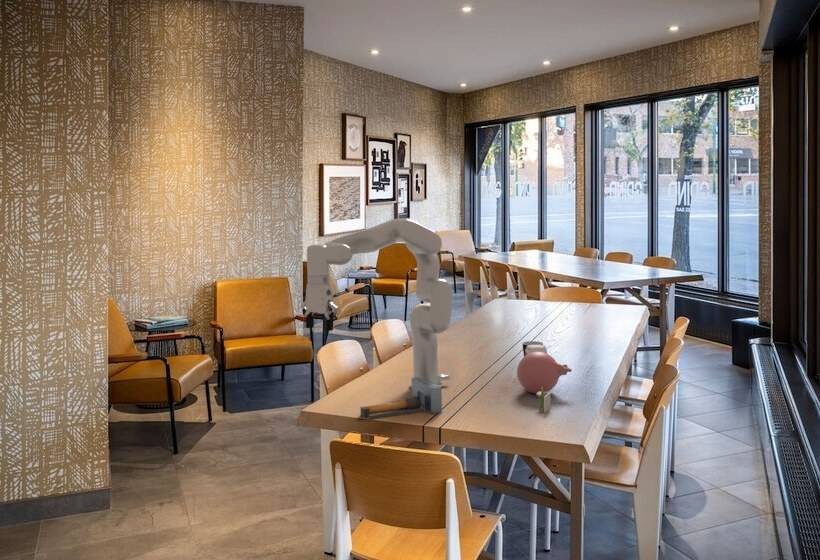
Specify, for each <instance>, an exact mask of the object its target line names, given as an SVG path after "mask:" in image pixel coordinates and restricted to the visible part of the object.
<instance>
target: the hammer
mask: <svg viewBox="0 0 820 560" xmlns="http://www.w3.org/2000/svg"><path fill="white" fill-rule="evenodd" d="M401 408H403V409H404V410H410V409H417V408H422V406H421V399H420V397H419V396H415V397H412V396H410V397H405V398H404V400H400V401H395V402H394V401H393V402H388V403H387V402H386V403H380V404H373V405H372V404H371V405H367V406H360V416H361V417H362V418H363V419H367V418H368V419H369V415H370V414H373V413H374V412H375V413H381V411H382V412H387V411H388V410H389V411H393V410H394V411H395V409H396V410H401Z"/></svg>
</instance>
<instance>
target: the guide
mask: <svg viewBox="0 0 820 560" xmlns="http://www.w3.org/2000/svg"><path fill="white" fill-rule="evenodd" d="M421 411H422V412H426V411H425V407H421V408H417V409H410V410H406V409H403V410H398V411H392V412H385V413H383V412H382V413H379V414H377V413H375V414H372V415H371V414H369V417H368V419H369V420H375V419H380V418H381V417H382V418H387V416H389V417H394V415H395V416H402V415H407V413H409V414H414V412H416V413H420V412H421ZM401 414H402V415H401Z"/></svg>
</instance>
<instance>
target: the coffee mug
mask: <svg viewBox="0 0 820 560" xmlns="http://www.w3.org/2000/svg"><path fill="white" fill-rule="evenodd" d="M531 344H540V345H544V343H543V342H542V341H534V340H532V341H531V340H529V341H523V342H522V344H521V345H522V351H523V357H525V350H526V348H527V345H531Z"/></svg>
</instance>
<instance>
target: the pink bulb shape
mask: <svg viewBox="0 0 820 560" xmlns="http://www.w3.org/2000/svg"><path fill="white" fill-rule="evenodd" d="M571 372H572V369H571V368H569V366H568V365H567V364H560V363H559V362H557V361H556V360H555V358H554V357H552V355H550V354H548V353H547V354H546V353H544V352H532V353H529V354H527V355H526V356H525V357H524V356H523V357H522V358H521V360H520V361H519V363H518V365H517V368H516V374H517V375H516V376H517V380H518V381H519V384H520V385H521V387H522V388H524V389H525V390H526V391H527V392H529V393H531V394H536V395H537V393H538V392H541V388H542V387H543V392H550V391H552V390H553V389H554V388H555V386H556V385H557V384H558V382H559V379H560V378H561V377H562V376H566V375H568V373H571Z"/></svg>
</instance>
